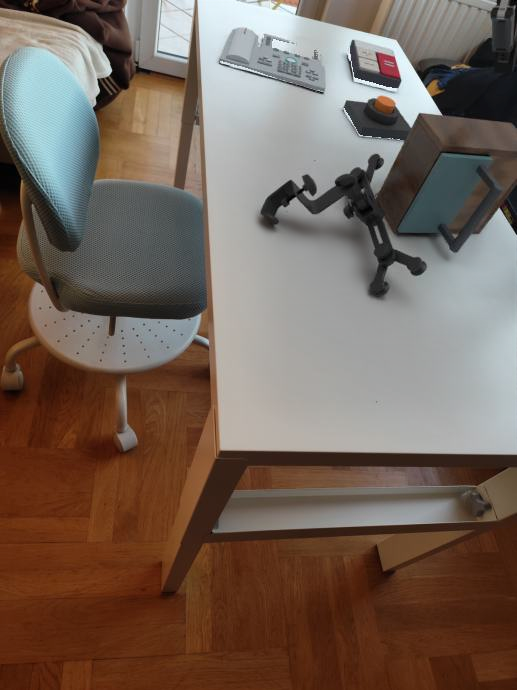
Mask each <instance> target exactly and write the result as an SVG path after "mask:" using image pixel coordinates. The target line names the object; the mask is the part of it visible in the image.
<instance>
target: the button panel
mask: <svg viewBox="0 0 517 690" xmlns="http://www.w3.org/2000/svg"><path fill="white" fill-rule="evenodd" d="M349 47H350V54H351V61H352V67H353V72H354V77H355V78H358V79H361V80H365V81H369V82H373V83H376V84H379V85H383V86H386V87H392V88H398V89H399V87H400V86H401V83H402V76H401V73H400V69H399V66H398V62H397V59H396V55H395V53H394V50H393V49H391V48H389V47H385V46H381V45H378V44H374V43H370V42H367V41H363V40H360V39H352V40H351V42H350V45H349Z"/></svg>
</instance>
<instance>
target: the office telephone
mask: <svg viewBox="0 0 517 690" xmlns="http://www.w3.org/2000/svg"><path fill="white" fill-rule="evenodd" d="M263 35H264V38H263V37H262V43H261V46H258V43H259V35H258V34H256V32H254V30H252V29H250V28H247V27H237V28H233V29H232V30H231V31H230V33H229V37H228V38H227V40H226V42H225V44H224V47H223V49H222V52H221V54H220V57H219V60H220V61H223V62H227V63H230V64H234V65H237V66H242V67H245V68H248V69H251V70H254V71H257V72H260V73H263V74H265V75H268V76H272V77H275V78H277V79H281V80H285V81H287V82H292V83H294V84H298V85H301V86H305V87H308V88H312V89H315V90H320V91H323V92H324V93H325V90H326V85H327V84H326V67H325V66H324V65H323V64H322V59H321V60H319V59H318V54H316V53H318V52H315V51H317V50H314V57H313V56H312V59H310V58H308V57H303V56H300V55H297V54H292V53H289V52H287V51H281V50H279V49H277V48H272V41H273V39H276V40H279V41H283V42H287V43H290V42H289V41H290V40H289V39H286V38H283V37H279V36H276V35H272V34H268V33H263V34H262V36H263ZM285 39H286V40H285ZM293 42H294V41H293ZM293 42H291V43H292V44H295V43H293ZM296 45H297V44H296ZM316 55H317V56H316ZM219 60H218V61H219Z"/></svg>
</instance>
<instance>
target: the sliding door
mask: <svg viewBox="0 0 517 690" xmlns="http://www.w3.org/2000/svg"><path fill="white" fill-rule="evenodd" d="M493 161H494V160H493V158H492V157H486V156H473V155H461V154H449V153H441V155H440V157H439V158H438V160H437V162H436V163H435V165H434V167H433V169H432V170H431V172H430V174H429V175H428V177H427V179H426V181H425V182H424V184H423V186H422V187H421V189H420V191H419V193H418V194H417V196H416V198H415V199H414V201H413V203H412V205H411V206H410V208H409V210H408V212H407V213H406V215H405V217H404V218H403V220H402V222H401V224H400V225H399V227H398V229H397V230H398V232H404V233H405V234H407V233H409V234H440V235H441V236H442V238H443V239H444V241H445V242H446V244H447V246H448V249H449V251H451V252H452V253H454V254H457V253H459V252H460V250H461V249H462V248H463V246H464V244H466V242H468V241H467V240H469V238H470V237H471V235H472V233H473V231H474V230H475V228H476V227H477V226H478V224H479V223H480V222H481V220H482V219H483V218H484V216H485V215H486V214H487V212H488V211H489V210H490V208H491V207H492V206H493V204H494V203H495V202H496V200H497V199H498V198H499V196H500V195H501V193H502V192H503V191H504V187H503V186H502V185H500V184H499V183H498V182H497V180H496V179H495V178H494V177H493V175H492V174H491V173H490V172H489V171H488V168H489V166H490V165H491V164H492V162H493ZM481 178H482V180H483V181H484V182H485V183H486V185H487V186H488V187H489V189H490V191H489V192H488V193H487V195H486V196H485V198H484V199H483V200H482V202H481V203H480V205H479V206H478V207H477V209H476V210H475V212H474V213H473V214H472V216H471V217H470V219H469V220H468V221H467V223H466V224H465V226H464V227H463V228H462V230H461V231H460V233H457V235H456V237H455V236H454V234H453V233H451V232H450V230H449V229H448V226H449V225H450V223H451V222H452V221H453V219H454V218H455V216H456V215H457V213H458V212H459V210H460V209H461V207H462V206H463V204H464V203H465V202H466V200H467V199H468V197H469V196H470V194H471V193H472V191H473V190H474V188H475V187H476V185H477V184H478V183H479V181H480V180H481Z"/></svg>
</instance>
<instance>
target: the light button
mask: <svg viewBox="0 0 517 690" xmlns="http://www.w3.org/2000/svg"><path fill="white" fill-rule="evenodd" d="M396 104H397V103H396V102H395V100H394V99H392V98H390V97H388V96H386V95H378V96H377V97H376V102H375V104H374V107H375V108H376V109H377V110H379V111H381V112H383V113H388V114H391V113H392V112H393V109H394V107H395V106H396Z"/></svg>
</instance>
